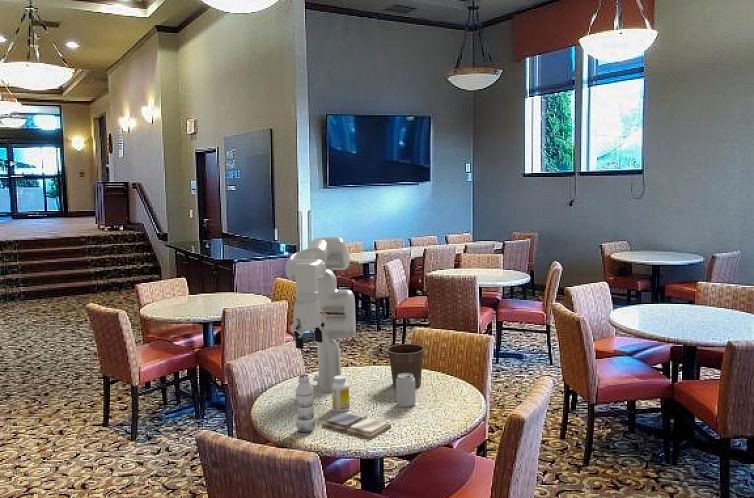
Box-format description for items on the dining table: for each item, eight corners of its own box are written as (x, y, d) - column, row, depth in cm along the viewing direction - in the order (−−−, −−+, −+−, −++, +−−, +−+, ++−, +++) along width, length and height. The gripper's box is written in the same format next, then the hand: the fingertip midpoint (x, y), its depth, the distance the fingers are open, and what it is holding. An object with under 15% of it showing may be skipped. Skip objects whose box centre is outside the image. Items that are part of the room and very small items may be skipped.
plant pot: (381, 382, 270) (380, 346, 269) (414, 376, 277) (413, 341, 276) (398, 393, 256) (397, 355, 254) (432, 387, 263) (431, 350, 261)
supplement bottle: (352, 406, 242) (351, 375, 241) (346, 413, 236) (344, 380, 235) (336, 405, 245) (335, 373, 243) (330, 411, 238) (328, 379, 237)
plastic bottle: (297, 427, 223) (294, 374, 221) (316, 426, 224) (313, 372, 222) (296, 435, 217) (293, 379, 215) (315, 433, 217) (313, 378, 215)
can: (414, 408, 238) (413, 378, 237) (395, 407, 240) (394, 377, 239) (417, 401, 246) (416, 372, 244) (398, 400, 247) (397, 371, 246)
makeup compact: (322, 426, 224) (322, 421, 224) (343, 415, 233) (343, 410, 233) (371, 439, 211) (370, 433, 211) (391, 427, 220) (390, 422, 220)
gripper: (315, 292, 225) (317, 338, 227) (281, 300, 212) (284, 349, 214) (331, 294, 221) (333, 340, 223) (297, 302, 207) (299, 352, 209)
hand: (309, 345), depth 218 cm, fingers open, 9 cm apart
